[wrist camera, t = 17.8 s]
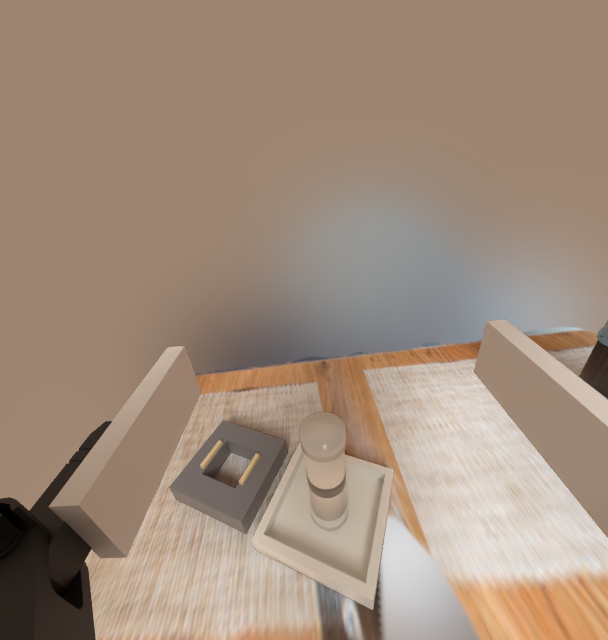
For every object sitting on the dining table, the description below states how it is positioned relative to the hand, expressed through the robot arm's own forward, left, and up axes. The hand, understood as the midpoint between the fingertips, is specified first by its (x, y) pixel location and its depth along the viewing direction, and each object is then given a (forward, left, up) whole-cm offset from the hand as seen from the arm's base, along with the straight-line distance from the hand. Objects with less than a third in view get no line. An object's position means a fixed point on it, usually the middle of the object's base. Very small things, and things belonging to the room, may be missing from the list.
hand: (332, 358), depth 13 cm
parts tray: (-8, -5, -32) cm, 33 cm away
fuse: (-8, -5, -31) cm, 33 cm away
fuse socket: (-8, -20, -32) cm, 38 cm away
